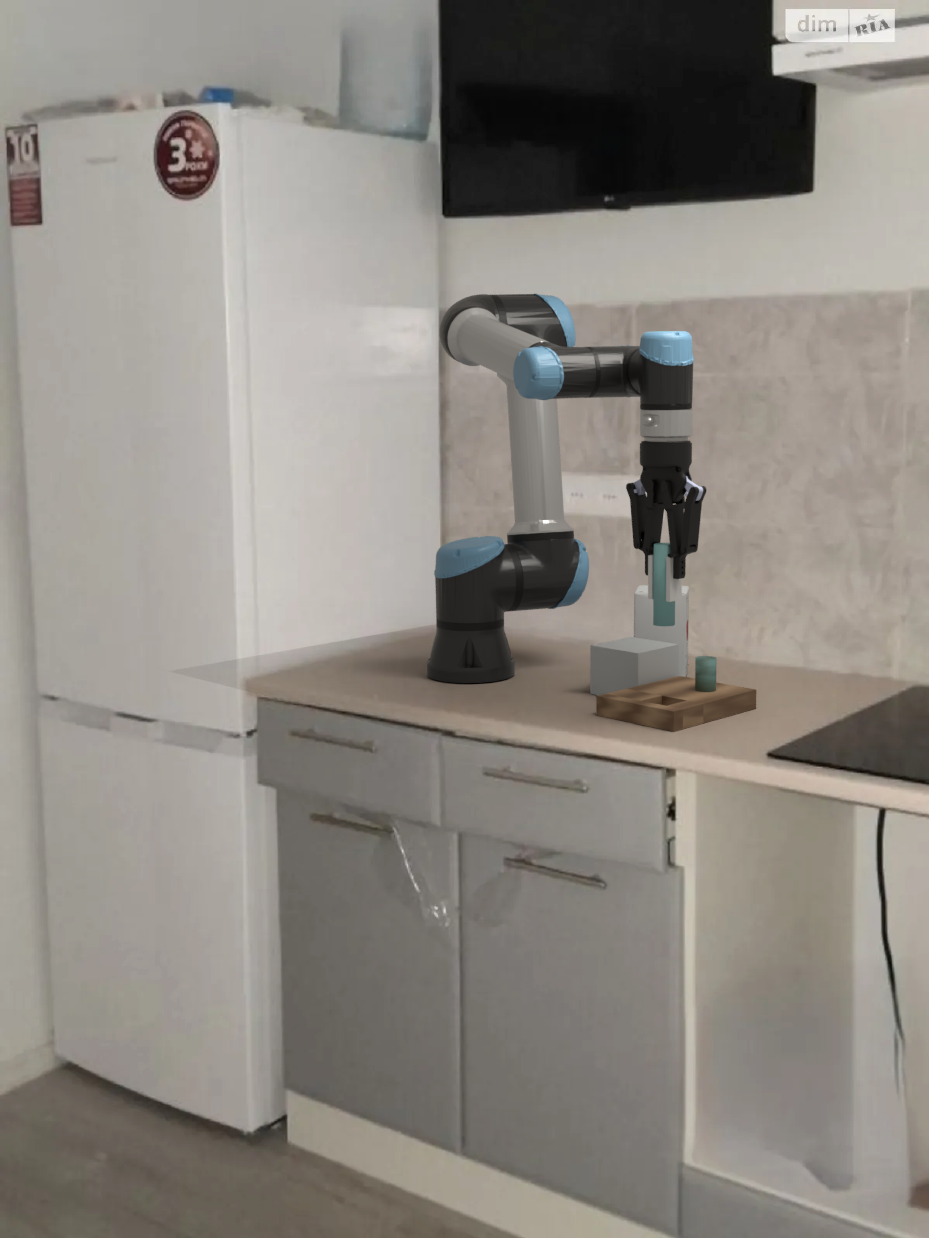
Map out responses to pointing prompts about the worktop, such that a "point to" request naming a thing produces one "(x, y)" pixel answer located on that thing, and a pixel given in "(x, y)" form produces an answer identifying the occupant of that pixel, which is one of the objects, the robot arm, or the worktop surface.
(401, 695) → the worktop surface
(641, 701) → the board
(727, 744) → the worktop surface
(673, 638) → the supplement box
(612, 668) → the grey square block
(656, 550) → the peg
